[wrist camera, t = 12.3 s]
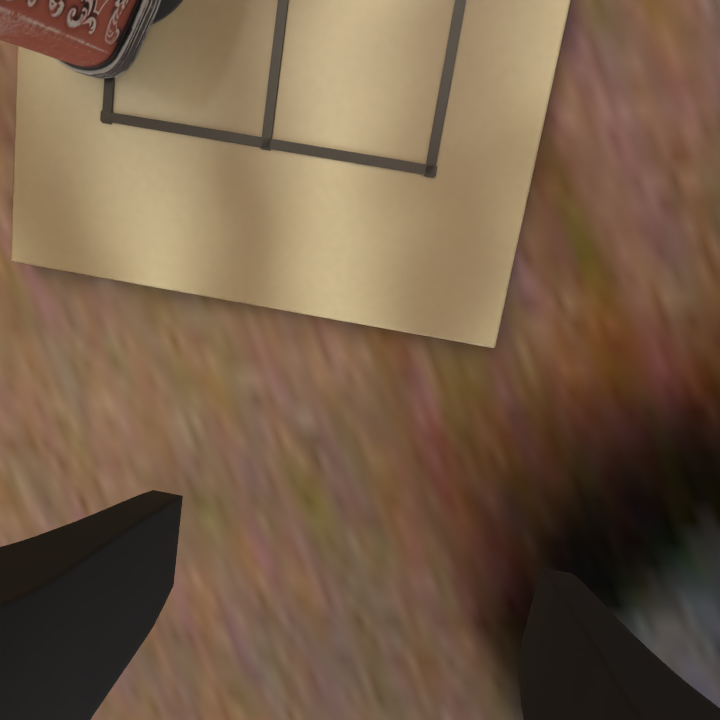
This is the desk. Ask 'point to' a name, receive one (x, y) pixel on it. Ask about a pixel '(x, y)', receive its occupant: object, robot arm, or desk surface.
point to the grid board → (298, 157)
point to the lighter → (80, 31)
